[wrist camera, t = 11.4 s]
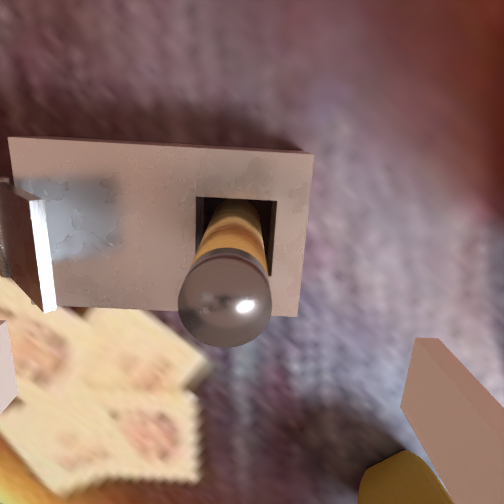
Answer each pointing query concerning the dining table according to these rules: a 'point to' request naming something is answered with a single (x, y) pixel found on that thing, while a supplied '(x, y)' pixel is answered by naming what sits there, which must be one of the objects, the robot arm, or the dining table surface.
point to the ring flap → (26, 244)
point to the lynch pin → (228, 279)
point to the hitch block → (155, 214)
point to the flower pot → (402, 482)
